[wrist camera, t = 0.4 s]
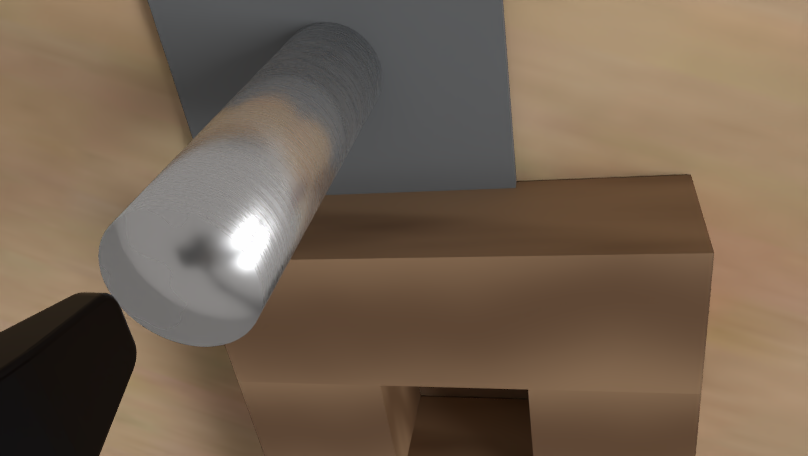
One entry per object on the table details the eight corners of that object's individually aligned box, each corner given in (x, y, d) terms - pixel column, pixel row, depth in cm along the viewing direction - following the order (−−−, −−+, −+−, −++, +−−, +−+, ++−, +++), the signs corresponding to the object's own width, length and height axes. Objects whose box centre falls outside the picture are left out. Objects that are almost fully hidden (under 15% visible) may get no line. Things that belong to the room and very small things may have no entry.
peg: (390, 118, 21) (279, 347, 13) (294, 124, 22) (132, 345, 14) (372, 17, 20) (236, 205, 12) (270, 27, 20) (72, 211, 12)
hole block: (669, 491, 28) (682, 588, 25) (328, 471, 32) (300, 555, 28) (690, 174, 21) (713, 253, 18) (244, 192, 24) (194, 261, 21)
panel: (518, 209, 23) (518, 216, 22) (225, 218, 25) (221, 224, 25) (492, -146, 17) (490, -144, 17) (125, -93, 20) (117, -90, 19)
